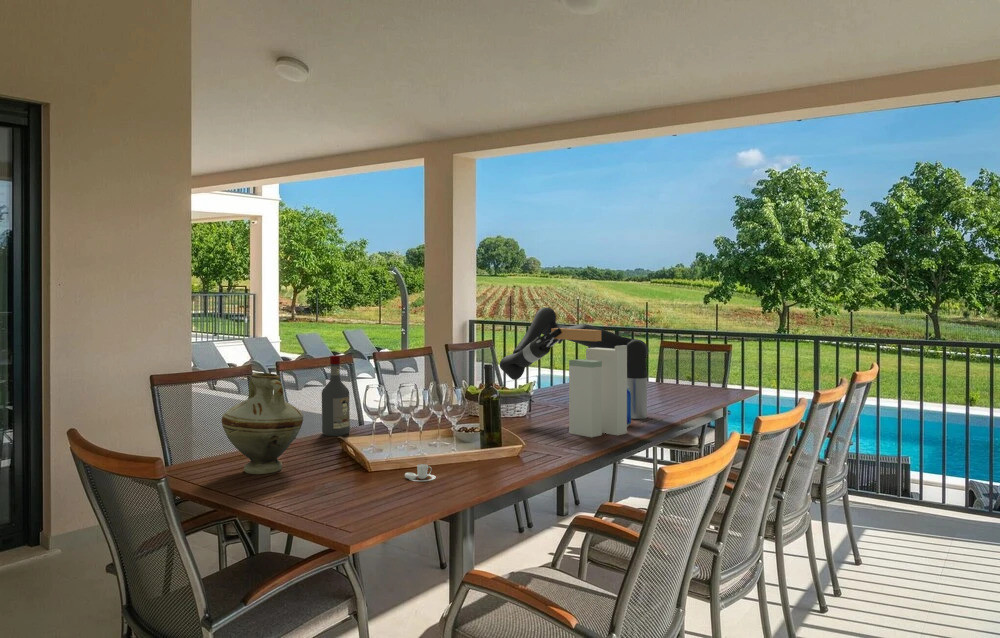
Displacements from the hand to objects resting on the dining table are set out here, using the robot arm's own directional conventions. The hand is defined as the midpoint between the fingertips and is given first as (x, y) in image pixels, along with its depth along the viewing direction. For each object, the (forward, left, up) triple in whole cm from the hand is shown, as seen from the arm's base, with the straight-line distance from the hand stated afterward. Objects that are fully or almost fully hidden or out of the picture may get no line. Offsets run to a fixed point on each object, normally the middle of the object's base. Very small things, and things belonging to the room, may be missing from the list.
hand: (563, 330), depth 281 cm
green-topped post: (+8, +7, -39) cm, 41 cm away
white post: (+4, +16, -39) cm, 42 cm away
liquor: (-1, -88, -39) cm, 97 cm away
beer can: (-8, +24, -39) cm, 47 cm away
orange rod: (+5, +4, -3) cm, 7 cm away
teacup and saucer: (+65, -54, -40) cm, 93 cm away
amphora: (+54, -101, -39) cm, 121 cm away
